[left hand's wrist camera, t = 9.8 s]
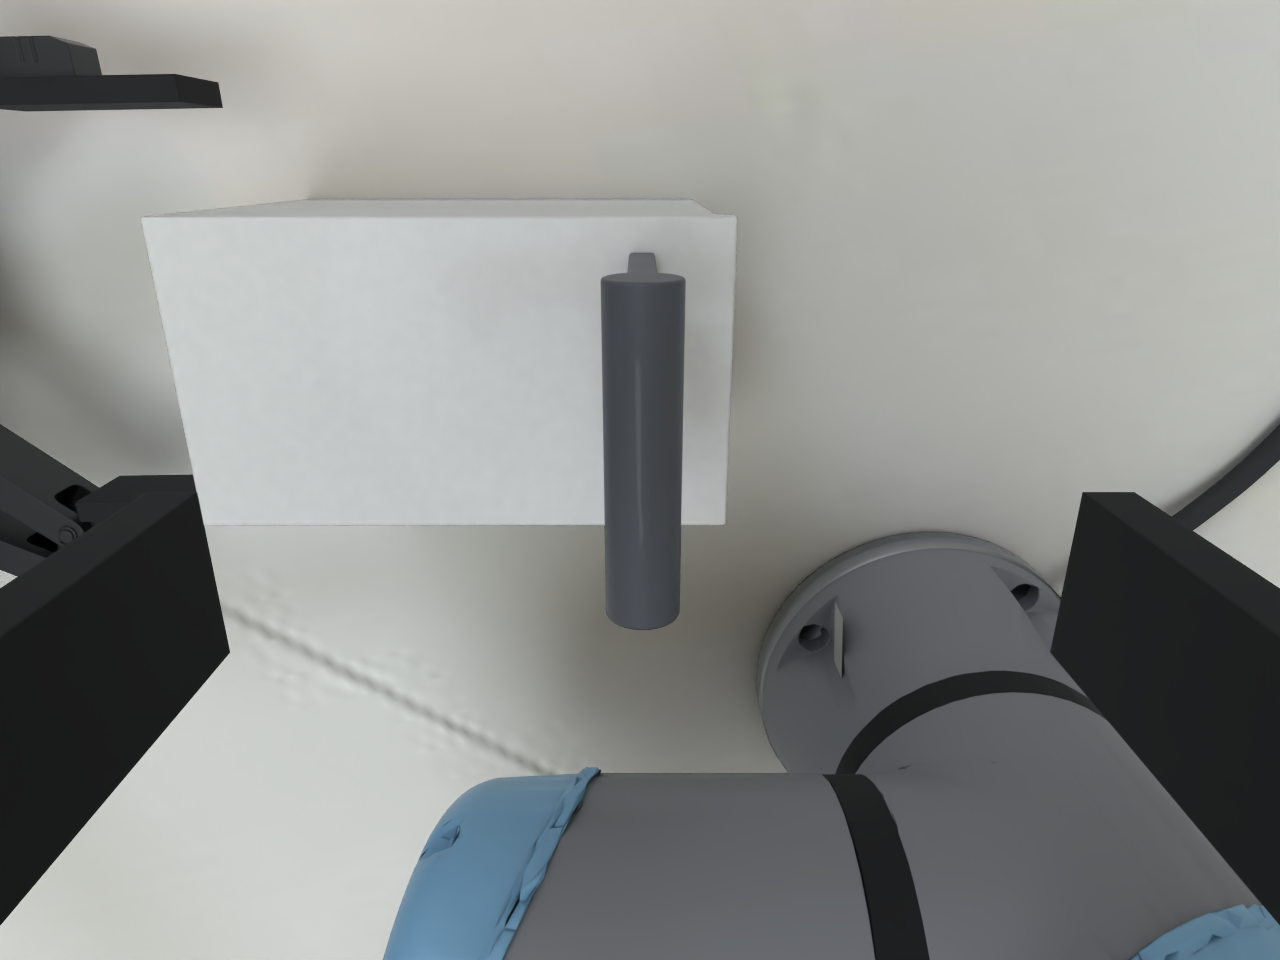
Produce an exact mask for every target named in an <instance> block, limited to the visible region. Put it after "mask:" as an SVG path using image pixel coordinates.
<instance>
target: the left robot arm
mask: <svg viewBox="0 0 1280 960" xmlns="http://www.w3.org/2000/svg"><path fill="white" fill-rule="evenodd" d="M1279 460H1280V425H1279V426H1278V427H1277V428H1276V429H1275V430H1274V431H1273V432H1272V433H1271V434H1270V435H1269V436H1268V437H1267V438H1266V439H1265V440H1264V441H1263V442H1262V443H1261V444H1260V445H1259V446H1258V447H1257V448H1256V449H1255V450H1254V451H1252V452H1251V453H1250V454H1249V455H1248V456H1247V457H1246V458H1245V459H1244V460H1243V461H1242V462H1241V463H1239V464H1238V465H1237V466H1236V467H1235V468H1234V469H1233V470H1232V471H1230V472H1229V473H1228V474H1227V475H1226V476H1224V477H1223V478H1222V479H1221V480H1220V481H1218V482H1217V483H1216V484H1215V485H1213V486H1212V487H1211V488H1210V489H1208V490H1207V491H1206V492H1204V493H1203V494H1202V495H1201V496H1199V497H1198V498H1197V499H1195V500H1194V501H1193V502H1191V503H1190V504H1189V505H1187V506H1186V507H1185V508H1183V509H1182V510H1181V511H1179V512H1178V513H1176V514H1175V515H1174V516H1172V517H1171V516H1169V515H1168V514H1166V513H1165V512H1163V511H1162V510H1160V509H1159V508H1157V507H1156V506H1154V505H1153V504H1151V503H1150V502H1148V501H1147V500H1145V499H1144V498H1142V497H1141V496H1139V495H1138V494H1136V493H1135V492H1083V493H1082V498H1081V503H1080V508H1079V513H1078V518H1077V523H1076V528H1075V533H1074V537H1073V542H1072V547H1071V552H1070V557H1069V562H1068V567H1067V572H1066V577H1065V582H1064V586H1063V591H1062V596H1061V597H1060V596H1059V595H1058V594H1057V593H1056V592H1055V591H1054V590H1053V589H1052V587H1051V586H1050V585H1049V584H1048V583H1047V582H1046V581H1045V580H1044V579H1043V578H1042V577H1041V576H1040V575H1039V574H1038V573H1037V572H1036V571H1035V570H1034V569H1032V568H1031V567H1030V566H1029V565H1028V564H1027V563H1026V562H1024V561H1023V560H1021V559H1020V558H1019V557H1017V556H1016V555H1014V554H1012V553H1011V552H1009V551H1007V550H1005V549H1003V548H1001V547H999V546H997V545H994V544H992V543H990V542H987V541H984V540H981V539H978V538H974V537H970V536H965V535H960V534H953V533H944V532H919V533H908V534H901V535H895V536H890V537H886V538H882V539H878V540H875V541H872V542H869V543H866V544H863V545H861V546H858V547H856V548H854V549H851V550H849V551H847V552H845V553H843V554H841V555H840V556H838V557H836V558H834V559H832V560H831V561H829V562H828V563H826V564H825V565H823V566H822V567H820V568H819V569H818V570H816V571H815V572H814V573H813V574H811V575H810V576H809V577H807V578H806V579H805V580H804V581H803V582H802V583H801V584H800V585H799V586H798V587H797V588H796V589H795V590H794V591H793V592H792V594H791V595H790V596H789V597H788V598H787V599H786V601H785V602H784V603H783V605H782V606H781V608H780V609H779V610H778V612H777V614H776V615H775V617H774V619H773V620H772V622H771V624H770V626H769V628H768V631H767V633H766V635H765V637H764V641H763V644H762V647H761V650H760V655H759V659H758V666H757V693H758V700H759V705H760V709H761V714H762V718H763V723H764V726H765V730H766V734H767V736H768V739H769V741H770V744H771V746H772V748H773V750H774V752H775V754H776V755H777V757H778V759H779V760H780V761H781V763H782V765H783V766H784V767H785V769H786V770H787V772H788V773H601V770H599V769H598V768H588V767H586V768H585V769H583V770H582V771H581V772H580V773H579V774H563V775H545V776H526V777H507V778H497V779H492V780H489V781H486V782H483V783H481V784H478V785H476V786H475V787H473V788H471V789H469V790H468V791H467V792H465V793H464V794H462V795H461V796H460V797H459V798H458V799H457V800H456V801H455V802H454V803H453V804H452V805H451V806H450V807H449V809H448V810H447V811H446V812H445V814H444V815H443V816H442V818H441V819H440V821H439V822H438V824H437V825H436V827H435V828H434V830H433V832H432V833H431V835H430V837H429V839H428V841H427V843H426V845H425V847H424V849H423V851H422V853H421V855H420V858H419V860H418V863H417V865H416V867H415V869H414V871H413V873H412V876H411V878H410V881H409V883H408V886H407V889H406V891H405V894H404V897H403V899H402V902H401V905H400V907H399V910H398V913H397V916H396V919H395V922H394V925H393V928H392V931H391V934H390V938H389V941H388V944H387V948H386V951H385V954H384V958H383V960H1280V588H1278V587H1277V586H1275V585H1274V584H1272V583H1271V582H1269V581H1268V580H1266V579H1265V578H1263V577H1262V576H1260V575H1259V574H1257V573H1256V572H1254V571H1253V570H1251V569H1250V568H1248V567H1246V566H1245V565H1243V564H1242V563H1240V562H1239V561H1237V560H1236V559H1234V558H1233V557H1231V556H1230V555H1228V554H1227V553H1225V552H1224V551H1222V550H1221V549H1219V548H1218V547H1216V546H1215V545H1213V544H1212V543H1210V542H1209V541H1207V540H1206V539H1204V538H1203V537H1201V536H1200V535H1198V534H1197V533H1195V532H1194V531H1193V530H1194V529H1196V528H1197V527H1198V526H1200V525H1201V524H1202V523H1204V522H1205V521H1207V520H1208V519H1209V518H1211V517H1212V516H1213V515H1215V514H1216V513H1217V512H1218V511H1220V510H1221V509H1222V508H1224V507H1225V506H1226V505H1228V504H1229V503H1230V502H1231V501H1233V500H1234V499H1235V498H1237V497H1238V496H1239V495H1240V494H1241V493H1243V492H1244V491H1245V490H1246V489H1247V488H1249V487H1250V486H1251V485H1252V484H1253V483H1255V482H1256V481H1257V480H1258V479H1259V478H1260V477H1261V476H1263V475H1264V474H1265V473H1266V472H1267V471H1268V470H1269V469H1270V468H1271V467H1272V466H1274V465H1275V464H1276V463H1277V462H1278V461H1279ZM229 653H230V650H229V645H228V640H227V635H226V630H225V626H224V621H223V616H222V611H221V606H220V601H219V596H218V591H217V586H216V582H215V577H214V572H213V567H212V562H211V557H210V552H209V547H208V542H207V537H206V533H205V528H204V523H203V518H202V513H201V508H200V503H199V498H198V493H197V492H145V493H144V494H142V495H141V496H139V497H138V498H136V499H135V500H133V501H132V502H130V503H129V504H127V505H126V506H124V507H123V508H121V509H120V510H118V511H117V512H115V513H114V514H112V515H111V516H109V517H108V518H106V519H105V520H103V521H101V522H100V523H98V524H97V525H95V526H94V527H92V528H91V529H89V530H88V531H86V532H85V533H83V534H82V535H80V536H79V537H77V538H76V539H74V540H73V541H71V542H70V543H68V544H67V545H65V546H64V547H62V548H61V549H59V550H58V551H56V552H55V553H53V554H52V555H50V556H49V557H47V558H46V559H44V560H43V561H41V562H40V563H38V564H37V565H35V566H34V567H32V568H30V569H29V570H27V571H26V572H24V573H23V574H21V575H20V576H18V577H17V578H15V579H14V580H12V581H11V582H9V583H8V584H6V585H5V586H3V587H2V588H0V925H1V924H2V923H3V922H4V920H5V919H6V918H7V917H8V916H9V914H10V913H11V912H12V911H13V910H14V909H15V907H16V906H17V905H18V904H19V903H20V901H21V900H22V899H23V898H24V897H25V895H26V894H27V893H28V892H29V891H30V890H31V888H32V887H33V886H34V885H35V884H36V882H37V881H38V880H39V879H40V878H41V876H42V875H43V874H44V873H45V872H46V870H47V869H48V868H49V867H50V866H51V865H52V863H53V862H54V861H55V860H56V859H57V857H58V856H59V855H60V854H61V853H62V851H63V850H64V849H65V848H66V847H67V846H68V844H69V843H70V842H71V841H72V840H73V838H74V837H75V836H76V835H77V834H78V832H79V831H80V830H81V829H82V828H83V827H84V825H85V824H86V823H87V822H88V821H89V819H90V818H91V817H92V816H93V815H94V813H95V812H96V811H97V810H98V809H99V807H100V806H101V805H102V804H103V803H104V802H105V800H106V799H107V798H108V797H109V796H110V794H111V793H112V792H113V791H114V790H115V788H116V787H117V786H118V785H119V784H120V783H121V781H122V780H123V779H124V778H125V777H126V775H127V774H128V773H129V772H130V771H131V769H132V768H133V767H134V766H135V765H136V764H137V762H138V761H139V760H140V759H141V758H142V756H143V755H144V754H145V753H146V752H147V750H148V749H149V748H150V747H151V746H152V745H153V743H154V742H155V741H156V740H157V739H158V737H159V736H160V735H161V734H162V733H163V731H164V730H165V729H166V728H167V727H168V725H169V724H170V723H171V722H172V721H173V720H174V718H175V717H176V716H177V715H178V714H179V712H180V711H181V710H182V709H183V708H184V706H185V705H186V704H187V703H188V702H189V701H190V699H191V698H192V697H193V696H194V695H195V693H196V692H197V691H198V690H199V689H200V687H201V686H202V685H203V684H204V683H205V682H206V680H207V679H208V678H209V677H210V676H211V674H212V673H213V672H214V671H215V670H216V668H217V667H218V666H219V665H220V664H221V662H222V661H223V660H224V659H225V658H226V657H227V655H228V654H229Z"/></svg>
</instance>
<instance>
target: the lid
mask: <svg viewBox="0 0 1280 960" xmlns="http://www.w3.org/2000/svg"><path fill="white" fill-rule="evenodd" d="M141 223H142V228H143V233H144V238H145V243H146V247H147V252H148V257H149V262H150V267H151V272H152V277H153V282H154V287H155V291H156V296H157V301H158V306H159V311H160V316H161V321H162V326H163V330H164V335H165V340H166V345H167V350H168V355H169V360H170V365H171V370H172V374H173V379H174V384H175V389H176V394H177V399H178V404H179V409H180V413H181V418H182V423H183V428H184V433H185V438H186V443H187V448H188V453H189V457H190V462H191V467H192V472H193V477H194V482H195V487H196V492H197V493H198V498H199V503H200V508H201V513H202V518H203V523H204V525H205V526H509V525H605V576H606V613H607V615H608V617H609V619H610V620H611V621H613V622H614V623H615V624H617V625H619V626H622V627H625V628H629V629H635V630H650V629H657V628H661V627H664V626H666V625H668V624H670V623H672V622H673V621H674V620H675V619H676V618H677V616H678V615H679V609H680V557H681V525H725V523H726V506H727V481H728V456H729V431H730V406H731V381H732V356H733V331H734V306H735V281H736V256H737V231H738V218H737V217H736V216H734V215H152V216H144V217H142V218H141Z"/></svg>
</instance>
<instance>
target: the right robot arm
mask: <svg viewBox="0 0 1280 960" xmlns="http://www.w3.org/2000/svg"><path fill="white" fill-rule="evenodd" d="M180 108H223V106H222V101H221V95H220V90H219V84H218V82H213V81H208V80H203V79H197V78H192V77H187V76H182V75H177V74H150V75H102V73H101V69H100V64H99V60H98V55H97V51H96V49H94V48H92V47H89V46H87V45H84V44H82V43H79V42H75V41H70V40H66V39H61V38H57V37H52V36H18V37H15V36H12V37H0V109H6V110H18V111H69V110H125V109H180ZM145 492H196V487H195V482H194V477H193V475H146V476H119V477H117V478H115V479H114V480H112V481H110V482H109V483H107V484H105V485H104V486H102V487H100V488H99V487H97V486H96V485H94V484H93V483H91V482H89V481H88V480H86V479H85V478H83V477H82V476H80V475H79V474H77V473H75V472H74V471H72V470H71V469H69V468H68V467H66V466H65V465H63V464H61V463H60V462H58V461H57V460H55V459H54V458H52V457H50V456H49V455H47V454H46V453H44V452H43V451H41V450H40V449H38V448H36V447H35V446H33V445H32V444H30V443H29V442H27V441H25V440H24V439H22V438H21V437H19V436H18V435H16V434H15V433H13V432H11V431H10V430H8V429H7V428H5V427H4V426H2V425H1V424H0V570H2V571H5V572H7V573H10V574H13V575H15V576H20V575H21V574H23V573H24V572H26V571H27V570H29V569H30V568H32V567H34V566H35V565H37V564H38V563H40V562H41V561H43V560H44V559H46V558H47V557H49V556H50V555H52V554H53V553H55V552H56V551H58V550H59V549H61V548H62V547H64V546H65V545H67V544H68V543H70V542H71V541H73V540H74V539H76V538H77V537H79V536H80V535H82V534H83V533H85V532H86V531H88V530H89V529H91V528H92V527H94V526H95V525H97V524H98V523H100V522H101V521H103V520H105V519H106V518H108V517H109V516H111V515H112V514H114V513H115V512H117V511H118V510H120V509H121V508H123V507H124V506H126V505H127V504H129V503H130V502H132V501H133V500H135V499H136V498H138V497H139V496H141V495H142V494H144V493H145Z"/></svg>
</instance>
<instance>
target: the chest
mask: <svg viewBox="0 0 1280 960" xmlns="http://www.w3.org/2000/svg"><path fill="white" fill-rule="evenodd" d="M164 215H715V214H714V213H712V212H711V211H709V210H708V209H706V208H705V207H703V206H702V205H700V204H698V203H697V202H695V201H694V200H692V199H306V200H297V201H287V202H278V203H268V204H258V205H249V206H239V207H230V208H220V209H210V210H201V211H191V212H181V213H172V214H164Z"/></svg>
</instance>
